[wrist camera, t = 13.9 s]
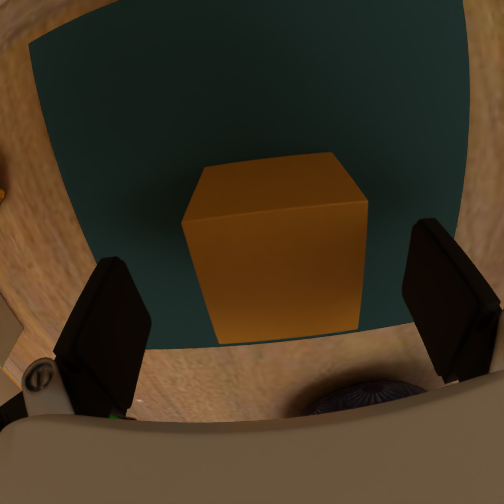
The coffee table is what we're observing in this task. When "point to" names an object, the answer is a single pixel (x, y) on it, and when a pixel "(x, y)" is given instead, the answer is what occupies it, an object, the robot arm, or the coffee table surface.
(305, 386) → the coffee table surface
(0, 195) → the figurine
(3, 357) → the bottom block
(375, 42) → the mat
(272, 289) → the top block
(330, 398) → the planter
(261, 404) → the coffee table surface
